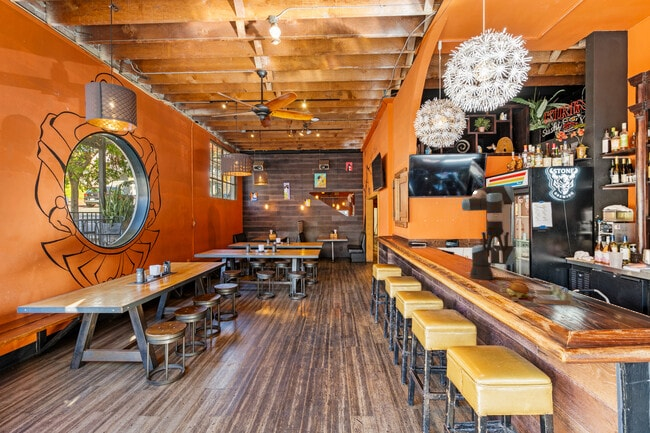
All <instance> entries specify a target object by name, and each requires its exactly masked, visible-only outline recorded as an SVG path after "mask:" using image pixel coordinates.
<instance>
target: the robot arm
mask: <svg viewBox="0 0 650 433" xmlns="http://www.w3.org/2000/svg"><path fill="white" fill-rule="evenodd" d="M471 194H472V195H471V197H469V198H463V199H462V200H461V210H462V211H464V212H472V211H473V212H474V211H476V212H477V211H486V221H487V222H486V225H487V226H486V230H485V231H482V232H480V233H481V235H482V244H478V245H474V246H472V248H471V265H472V266H471V270H470V272H469V278H471V279H475V280H483V281H485V280H486V281H487V280H494V279H495V278H494V273H493V270H492V267H491V264H493V265H505V266H506V265H509V266H510V265H513V264H514V263H515V257H516V251H517V250H516V247H514V245H513V243H511V207H512V206H513V203H515V202H516V198H515V193H514V188H513V186H512V185H507V184H506V185H505V184H504V185H492V186H491V185H490V186H485V187H481V188H480V187H479V188H478V189H476V190H474V192H473V193H471ZM487 235H488V236H489V237H488V240H487ZM494 238H495V243H494V244H493V246H492V242H493V239H494Z"/></svg>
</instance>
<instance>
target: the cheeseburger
mask: <svg viewBox="0 0 650 433" xmlns="http://www.w3.org/2000/svg"><path fill="white" fill-rule="evenodd" d="M508 285H509V286H508V288H506V289H507V292H506V294H507V296H508V297H511V298H512V297H514V298H524V299H527V297H529V293H528V292H529V290H530V289H529V287H528V286H527V284H526V283H525V282H524V281H522V280H519V279H517V280H513V281H511V282H510V283H509V284H508Z"/></svg>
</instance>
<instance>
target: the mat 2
mask: <svg viewBox="0 0 650 433" xmlns="http://www.w3.org/2000/svg"><path fill="white" fill-rule="evenodd" d="M522 302H523V303H524V304H525V305H526V306H525V307H534V308H535V307H536V308H539V307H540V305H538V303H534V302H524V301H522Z"/></svg>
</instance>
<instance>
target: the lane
mask: <svg viewBox="0 0 650 433" xmlns="http://www.w3.org/2000/svg"><path fill="white" fill-rule="evenodd" d="M500 293H507V288H504V287H502V288H500ZM535 294H537V295H552V296H554V297H556V298H558V299H554V298H553V299H552V298H551V299H550V298H533V299H532V300H533V303H536V304H547V305H549V304H551V305H565V306H566V305H568V306H573V294H572V293H570V292H567V291H565V290H563V289H561V288H559V287H557V286H556V285H554V284H550V290H548V289H535ZM512 301H518V302H517V303H519V302H520V299H519V298H512V297H511V302H512Z"/></svg>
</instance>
